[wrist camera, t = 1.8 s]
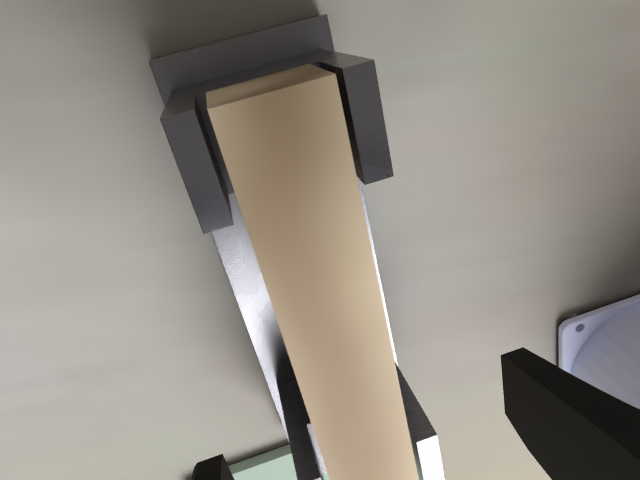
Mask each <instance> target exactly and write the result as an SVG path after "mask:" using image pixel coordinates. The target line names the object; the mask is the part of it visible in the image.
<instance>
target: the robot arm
mask: <svg viewBox="0 0 640 480" xmlns="http://www.w3.org/2000/svg"><path fill="white" fill-rule="evenodd" d="M501 365H502V378H503V391H504V405H505V414H506V415H507V417H508V419H509V420H510V422H511V424H512V425H513V427H514V428H515V430H516V432H517V433H518V435H519V436H520V438H521V439H522V441H523V442H524V444H525V445H526V447H527V449H528V450H529V451H530V453H531V454H532V455H533V456H534V458H535V459H536V460H537V461H538V463H539V464H540V465H541V466H542V468H543V469H544V470H545V471H546V473H547V474H548V475H549V476H550V478H551V479H552V480H640V294H639V295H636V296H633V297H630V298H627V299H624V300H621V301H619V302H616V303H613V304H610V305H607V306H604V307H601V308H599V309H596V310H593V311H590V312H587V313H584V314H582V315H579V316H576V317H573V318H570V319H567V320H565V321H563V322H562V323H561V325H560V326H559V367H557V366H556V365H554V364H552V363H550V362H548V361H547V360H545V359H543V358H541V357H539V356H538V355H536V354H534V353H532V352H530V351H529V350H527V349H525V348H520V349H517V350H514V351H511V352H508V353H506V354H503V355H501ZM191 480H234V478H233V476H232V473H231V471H230V469H229V467H228V465H227V463H226V461H225V458H224V456H223V454H221V455H218V456H215V457H212V458H210V459H207V460H204V461H201V462H198V463H197V464H196V466H195V467H194V471H193V475H192V479H191Z"/></svg>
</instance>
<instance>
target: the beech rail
mask: <svg viewBox="0 0 640 480" xmlns="http://www.w3.org/2000/svg"><path fill="white" fill-rule="evenodd" d="M206 102H207V110H208V113H209V116H210V119H211V122H212V125H213V128H214V131H215V135H216V138H217V141H218V144H219V147H220V150H221V153H222V156H223V159H224V162H225V165H226V168H227V171H228V174H229V177H230V180H231V183H232V186H233V189H234V192H235V195H236V198H237V201H238V204H239V207H240V210H241V213H242V216H243V219H244V222H245V225H246V228H247V231H248V234H249V237H250V240H251V243H252V246H253V249H254V252H255V255H256V258H257V261H258V264H259V267H260V270H261V273H262V276H263V279H264V282H265V285H266V289H267V292H268V295H269V298H270V301H271V304H272V307H273V310H274V313H275V316H276V319H277V322H278V325H279V328H280V331H281V334H282V337H283V340H284V343H285V346H286V349H287V352H288V355H289V358H290V361H291V364H292V367H293V370H294V373H295V376H296V379H297V382H298V385H299V388H300V391H301V394H302V397H303V400H304V403H305V406H306V409H307V412H308V415H309V418H310V421H311V424H312V427H313V430H314V433H315V436H316V439H317V443H318V446H319V449H320V452H321V455H322V458H323V461H324V464H325V467H326V470H327V473H328V476H329V479H330V480H419V478H418V473H417V468H416V463H415V458H414V453H413V448H412V444H411V439H410V434H409V429H408V424H407V419H406V414H405V409H404V405H403V400H402V395H401V390H400V385H399V380H398V375H397V370H396V366H395V361H394V356H393V351H392V346H391V341H390V336H389V331H388V327H387V322H386V317H385V312H384V307H383V302H382V297H381V292H380V288H379V283H378V278H377V273H376V268H375V263H374V258H373V253H372V249H371V244H370V239H369V234H368V229H367V224H366V219H365V214H364V210H363V205H362V200H361V195H360V190H359V185H358V180H357V175H356V171H355V166H354V161H353V156H352V151H351V146H350V141H349V136H348V132H347V127H346V122H345V117H344V112H343V107H342V102H341V97H340V93H339V88H338V83H337V78H336V74H335V73H332V72H329V71H327V70H324V69H321V68H319V67H316V66H313V65H311V64H307V65H303V66H300V67H296V68H292V69H289V70H285V71H281V72H278V73H274V74H270V75H267V76H263V77H259V78H256V79H252V80H248V81H245V82H241V83H237V84H234V85H230V86H226V87H223V88H219V89H215V90H212V91H208V92H206Z"/></svg>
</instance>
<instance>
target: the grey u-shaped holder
mask: <svg viewBox="0 0 640 480" xmlns="http://www.w3.org/2000/svg"><path fill="white" fill-rule="evenodd" d="M149 64H150V67H151V69H152V72H153V75H154V77H155V80H156V83H157V86H158V88H159V91H160V94H161V96H162V99H163V102H164V105H165V108H164V110H163V113H162V115H161V117H160V121H161V123H162V126H163V129H164V131H165V134H166V136H167V139H168V142H169V144H170V147H171V150H172V152H173V155H174V158H175V160H176V163H177V166H178V168H179V171H180V173H181V176H182V179H183V181H184V184H185V187H186V189H187V192H188V195H189V197H190V200H191V203H192V205H193V208H194V210H195V213H196V216H197V218H198V221H199V224H200V226H201V229H202V232H203V234H205V233H208V232H212V235H213V237H214V240H215V243H216V245H217V248H218V251H219V254H220V256H221V259H222V262H223V264H224V267H225V270H226V273H227V275H228V278H229V281H230V283H231V286H232V289H233V291H234V294H235V297H236V300H237V302H238V305H239V308H240V310H241V313H242V316H243V319H244V321H245V324H246V327H247V329H248V332H249V335H250V338H251V340H252V343H253V346H254V348H255V351H256V354H257V356H258V359H259V362H260V365H261V367H262V370H263V373H264V375H265V378H266V381H267V384H268V386H269V389H270V392H271V394H272V397H273V400H274V403H275V405H276V408H277V411H278V413H279V416H280V419H281V422H282V424H283V427H284V430H285V432H286V435H287V438H288V440H289V443H290V448H291V452H292V457H293V462H294V466H295V471H296V476H297V480H325V479H324V475H323V474H326V473H327V470H326V467H325V464H324V461H323V458H322V455H321V452H320V449H319V446H318V443H317V439H316V436H315V433H314V430H313V427H312V424H311V421H310V418H309V415H308V412H307V409H306V406H305V403H304V400H303V397H302V394H301V391H300V388H299V385H298V382H297V379H296V376H295V373H294V370H293V367H292V364H291V361H290V358H289V355H288V352H287V349H286V346H285V343H284V340H283V337H282V334H281V331H280V328H279V325H278V322H277V319H276V316H275V313H274V310H273V307H272V304H271V301H270V298H269V295H268V292H267V289H266V285H265V282H264V279H263V276H262V273H261V270H260V267H259V264H258V261H257V258H256V255H255V252H254V249H253V246H252V243H251V240H250V237H249V234H248V231H247V228H246V225H245V222H244V219H243V216H242V213H241V210H240V207H239V204H238V201H237V198H236V195H235V192H234V189H233V186H232V183H231V180H230V177H229V174H228V171H227V168H226V165H225V162H224V159H223V156H222V153H221V150H220V147H219V144H218V141H217V138H216V135H215V131H214V128H213V125H212V122H211V119H210V116H209V113H208V110H207V102H206V92H208V91H212V90H215V89H219V88H223V87H226V86H230V85H234V84H237V83H241V82H245V81H248V80H252V79H256V78H259V77H263V76H267V75H270V74H274V73H278V72H281V71H285V70H289V69H292V68H296V67H300V66H303V65H307V64H311V65H313V66H316V67H319V68H321V69H324V70H327V71H329V72H332V73H335V74H336V78H337V83H338V88H339V93H340V97H341V102H342V107H343V112H344V117H345V122H346V127H347V132H348V136H349V141H350V146H351V151H352V156H353V161H354V166H355V171H356V175H357V180H358V185H359V190H360V195H361V200H362V205H363V210H364V214H365V219H366V224H367V229H368V234H369V239H370V244H371V249H372V253H373V258H374V263H375V268H376V273H377V278H378V283H379V288H380V292H381V297H382V302H383V307H384V312H385V317H386V322H387V327H388V331H389V336H390V341H391V346H392V351H393V356H394V361H395V366H396V370H397V375H398V380H399V385H400V390H401V395H402V400H403V405H404V409H405V414H406V419H407V424H408V429H409V434H410V439H411V444H412V448H413V453H414V458H415V463H416V468H417V473H418V478H419V480H445V478H444V472H443V466H442V460H441V454H440V448H439V443H438V437H437V434H436V432H435V430H434V428H433V427H432V425H431V423H430V422H429V420H428V418H427V416H426V415H425V413H424V411H423V409H422V408H421V406H420V404H419V402H418V401H417V399H416V397H415V396H414V394H413V392H412V390H411V389H410V387H409V385H408V383H407V382H406V380H405V378H404V376H403V375H402V373H401V371H400V370H399V368H398V364H397V359H396V354H395V349H394V344H393V339H392V334H391V329H390V324H389V319H388V314H387V309H386V304H385V299H384V294H383V289H382V284H381V279H380V275H379V270H378V265H377V260H376V255H375V250H374V245H373V240H372V235H371V230H370V225H369V220H368V215H367V210H366V205H365V200H364V195H363V190H362V185H361V181H362V182H363V183H364V184H365V185H366V184H369V183H373V182H376V181H379V180H383V179H386V178H389V177H392V176H393V170H392V164H391V158H390V152H389V146H388V140H387V134H386V128H385V122H384V116H383V110H382V104H381V98H380V92H379V87H378V81H377V75H376V69H375V63H374V60H373V59H368V58H363V57H358V56H354V55H349V54H344V53H339V52H334V47H333V42H332V37H331V32H330V27H329V22H328V17H327V14H325V15H318V16H314V17H310V18H306V19H302V20H299V21H295V22H291V23H287V24H283V25H280V26H276V27H272V28H268V29H264V30H261V31H257V32H253V33H249V34H245V35H242V36H238V37H234V38H230V39H226V40H222V41H219V42H215V43H211V44H207V45H203V46H200V47H196V48H192V49H188V50H184V51H181V52H177V53H173V54H169V55H165V56H162V57H158V58H154V59H151V60H150V61H149ZM360 180H361V181H360Z"/></svg>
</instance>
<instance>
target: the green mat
mask: <svg viewBox="0 0 640 480" xmlns="http://www.w3.org/2000/svg"><path fill="white" fill-rule="evenodd" d="M228 467H229V469H230V471H231V473H232V476H233V478H234V480H297V476H296V471H295V466H294V462H293V457H292V452H291V448H290V444H288V445H285V446H283V447H280V448H277V449H274V450H271V451H268V452H266V453H263V454H260V455H257V456H254V457H252V458H249V459H246V460H243V461H240V462H238V463H235V464H232V465H229V466H228ZM323 475H324V479H325V480H330V479H329V476H328V473H326V474H323ZM190 480H191V479H190Z"/></svg>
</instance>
